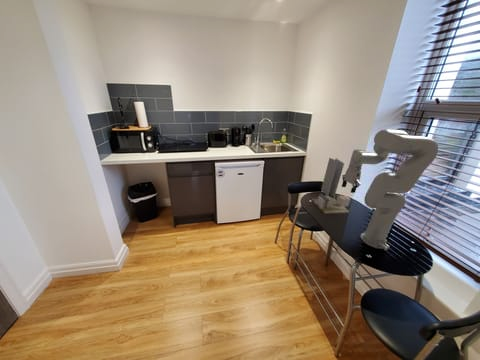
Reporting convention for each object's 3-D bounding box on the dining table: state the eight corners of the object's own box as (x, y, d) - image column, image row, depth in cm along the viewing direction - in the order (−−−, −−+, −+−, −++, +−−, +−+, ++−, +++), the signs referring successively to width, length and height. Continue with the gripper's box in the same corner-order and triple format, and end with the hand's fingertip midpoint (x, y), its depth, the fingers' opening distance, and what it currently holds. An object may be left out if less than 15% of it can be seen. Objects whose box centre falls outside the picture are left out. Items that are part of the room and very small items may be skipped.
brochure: (334, 197, 155) (344, 163, 143) (327, 197, 155) (337, 163, 143) (327, 190, 168) (336, 158, 156) (321, 189, 168) (329, 157, 156)
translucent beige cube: (348, 206, 141) (350, 199, 138) (341, 206, 140) (343, 199, 137) (342, 202, 146) (345, 195, 144) (336, 202, 145) (338, 195, 143)
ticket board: (349, 212, 135) (349, 211, 134) (325, 213, 132) (325, 212, 131) (333, 199, 152) (333, 198, 151) (311, 200, 149) (311, 198, 148)
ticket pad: (333, 208, 137) (336, 199, 134) (322, 208, 135) (324, 200, 133) (326, 201, 146) (328, 193, 143) (315, 201, 144) (317, 193, 141)
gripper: (369, 171, 124) (361, 194, 130) (350, 163, 139) (344, 184, 146) (359, 171, 122) (351, 195, 129) (341, 163, 138) (336, 185, 144)
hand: (348, 189), depth 137 cm, fingers open, 9 cm apart
